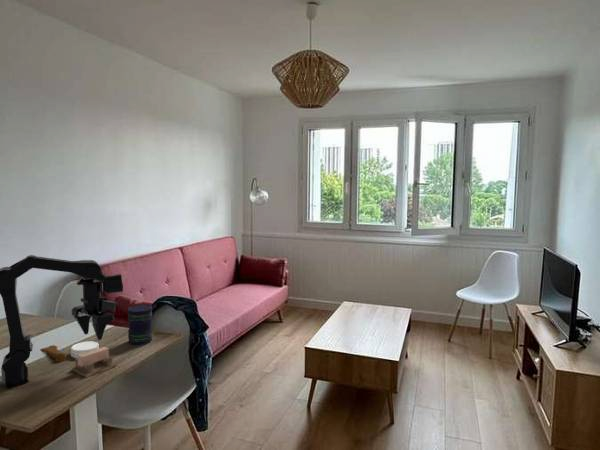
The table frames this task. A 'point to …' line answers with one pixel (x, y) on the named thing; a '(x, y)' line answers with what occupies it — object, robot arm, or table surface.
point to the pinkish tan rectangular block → (93, 356)
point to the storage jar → (140, 325)
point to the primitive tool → (54, 353)
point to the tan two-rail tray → (93, 367)
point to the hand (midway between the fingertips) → (93, 336)
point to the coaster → (83, 348)
